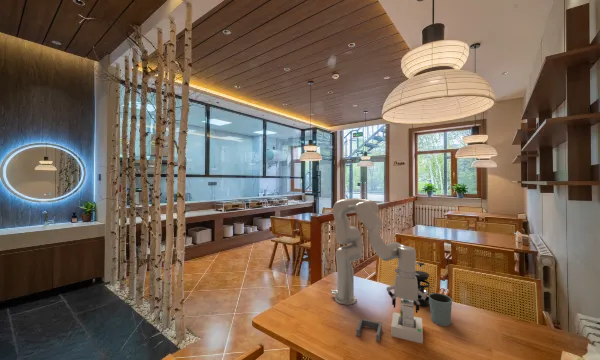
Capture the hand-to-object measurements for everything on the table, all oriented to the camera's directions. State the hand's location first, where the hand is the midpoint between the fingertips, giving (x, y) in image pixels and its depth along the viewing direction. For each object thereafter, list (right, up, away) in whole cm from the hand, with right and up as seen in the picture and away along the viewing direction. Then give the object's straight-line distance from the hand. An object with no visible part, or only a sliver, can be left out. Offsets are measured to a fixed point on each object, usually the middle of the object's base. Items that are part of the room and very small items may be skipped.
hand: (405, 308), depth 117 cm
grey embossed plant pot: (+21, -10, +8) cm, 25 cm away
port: (+1, -10, 0) cm, 10 cm away
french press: (+19, -10, +26) cm, 34 cm away
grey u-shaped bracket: (-17, -11, -1) cm, 20 cm away
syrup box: (+1, -11, 0) cm, 11 cm away
